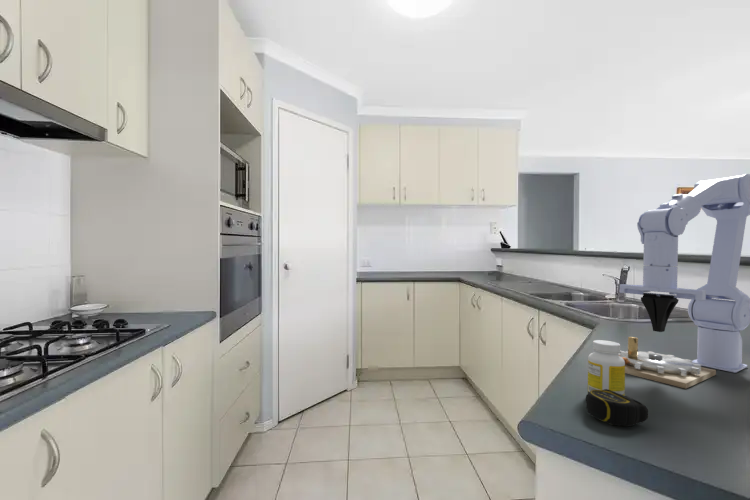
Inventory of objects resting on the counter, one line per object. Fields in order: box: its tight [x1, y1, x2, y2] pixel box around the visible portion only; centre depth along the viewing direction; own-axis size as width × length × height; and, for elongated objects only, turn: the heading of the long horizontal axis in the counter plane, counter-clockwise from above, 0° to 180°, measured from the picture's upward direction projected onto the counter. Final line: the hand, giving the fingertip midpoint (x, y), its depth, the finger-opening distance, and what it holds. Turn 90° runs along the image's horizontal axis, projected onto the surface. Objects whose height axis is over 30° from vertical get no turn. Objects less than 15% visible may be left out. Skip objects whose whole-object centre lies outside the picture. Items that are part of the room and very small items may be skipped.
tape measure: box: [585, 389, 649, 427], centre depth 56 cm, size 7×7×4 cm
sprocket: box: [618, 336, 702, 376], centre depth 82 cm, size 15×15×6 cm
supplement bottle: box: [587, 339, 626, 396], centre depth 64 cm, size 5×5×10 cm
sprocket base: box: [625, 364, 717, 390], centre depth 82 cm, size 17×16×1 cm
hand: (658, 331), depth 78 cm, fingers closed
